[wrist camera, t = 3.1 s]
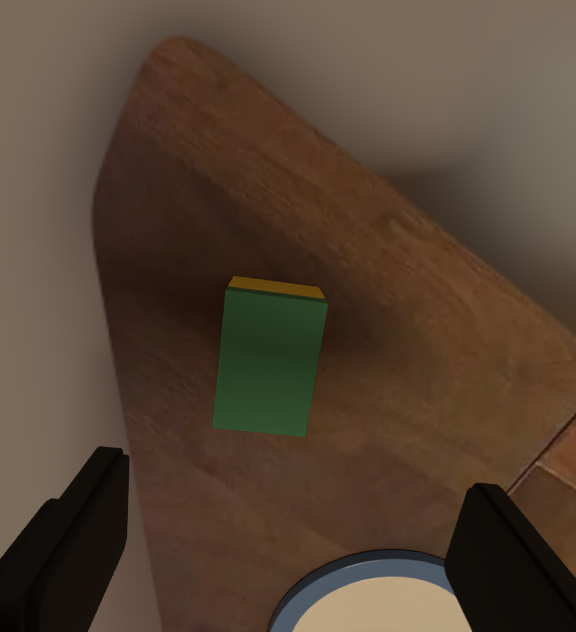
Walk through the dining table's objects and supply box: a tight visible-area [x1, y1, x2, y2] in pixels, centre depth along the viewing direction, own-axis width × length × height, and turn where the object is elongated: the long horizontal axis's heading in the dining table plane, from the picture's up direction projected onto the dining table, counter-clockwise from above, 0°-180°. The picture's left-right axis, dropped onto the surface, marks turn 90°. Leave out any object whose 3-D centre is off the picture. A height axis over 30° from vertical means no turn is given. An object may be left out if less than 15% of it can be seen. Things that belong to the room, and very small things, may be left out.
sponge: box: [212, 276, 328, 437], centre depth 21 cm, size 8×5×4 cm, turn 172°
